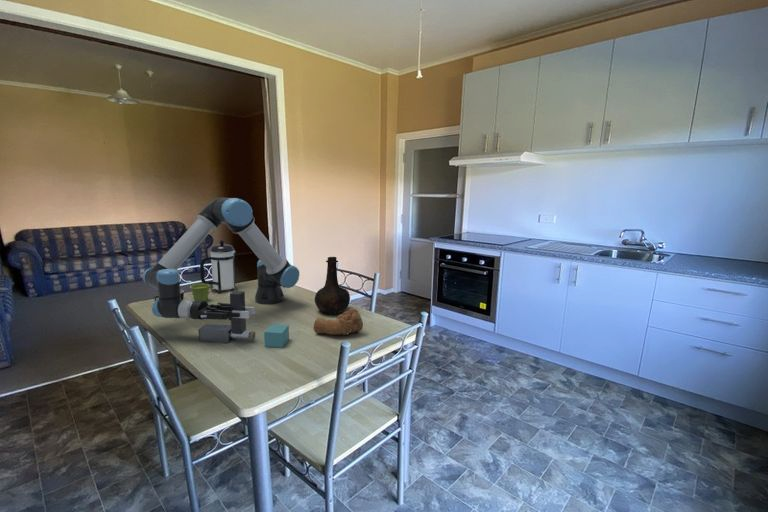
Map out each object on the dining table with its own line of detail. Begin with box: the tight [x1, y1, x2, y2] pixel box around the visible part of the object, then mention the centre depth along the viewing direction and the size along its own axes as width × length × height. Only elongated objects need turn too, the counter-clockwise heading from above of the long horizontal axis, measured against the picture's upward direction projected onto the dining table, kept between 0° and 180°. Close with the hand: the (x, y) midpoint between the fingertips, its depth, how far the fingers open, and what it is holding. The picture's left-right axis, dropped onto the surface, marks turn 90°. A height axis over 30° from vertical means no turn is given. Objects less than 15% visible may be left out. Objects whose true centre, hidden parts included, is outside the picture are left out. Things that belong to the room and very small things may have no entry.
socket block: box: [263, 324, 290, 348], centre depth 137 cm, size 7×8×6 cm
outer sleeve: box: [197, 323, 235, 344], centre depth 139 cm, size 12×6×5 cm, turn 87°
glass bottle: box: [314, 256, 351, 314], centre depth 173 cm, size 18×18×28 cm
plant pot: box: [189, 283, 211, 303], centre depth 182 cm, size 9×9×9 cm
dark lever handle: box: [229, 290, 256, 340], centre depth 137 cm, size 19×4×19 cm, turn 87°
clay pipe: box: [313, 307, 364, 336], centre depth 149 cm, size 19×11×15 cm
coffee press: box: [199, 239, 238, 294], centre depth 200 cm, size 17×16×30 cm
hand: (251, 312), depth 136 cm, fingers closed on dark lever handle, 4 cm apart
